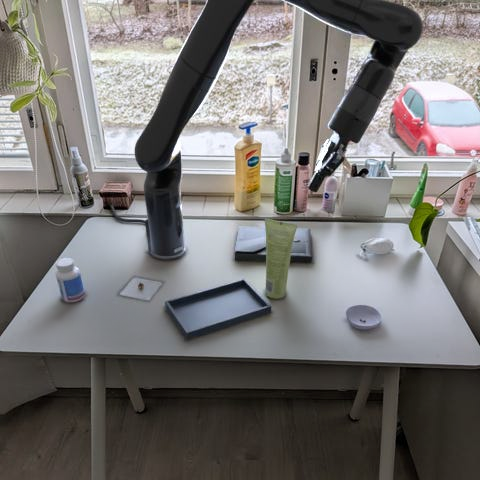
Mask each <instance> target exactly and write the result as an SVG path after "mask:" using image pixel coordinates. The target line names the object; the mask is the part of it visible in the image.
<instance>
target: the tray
mask: <svg viewBox="0 0 480 480" xmlns="http://www.w3.org/2000/svg"><path fill="white" fill-rule="evenodd" d="M164 307H165V309H166V312H167V313H168V314H169V315H170V316H171V318H172V320H173V321H174V322H175V324H176V326H177V327H178V328H179V330H180V331H181V333H182V334H183V336H184V337H185V339H186V340H190V339H194V338H197V337H201V336H204V335H206V334H210V333H213V332H216V331H218V330H221V329H224V328H227V327H231V326H234V325H237V324H240V323H243V322H247V321H249V320H253V319H255V318H258V317H262V316H265V315H267V314H271V313H272V305H271V304H270V303H269V302H268V300H267V299H265V298H264V297H263V296H262V295H261V294H260V292H259V291H257V289H256V288H254V287H253V286H252V284H251V283H250V282H249V281H248V280H247V279H246V278H245V277H244V278H241V279H237V280H233V281H230V282H227V283H223V284H219V285H216V286H212V287H210V288H206V289H203V290H199V291H195V292H192V293H188V294H186V295H182V296H179V297H178V296H177V297H175V298H171V299H168V300H165V301H164Z"/></svg>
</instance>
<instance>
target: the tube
mask: <svg viewBox="0 0 480 480" xmlns="http://www.w3.org/2000/svg"><path fill="white" fill-rule="evenodd" d="M264 227H265V229H266V261H265V264H266V265H265V295H266V296H267V297H268V298H270V299H282V298H283V297H285V295H286V293H287V284H288V277H289V270H290V264H291V262H290V257H291V251H292V246H293V241H294V236H295V232H296V229H297V228H298V224H296V223H291V222H285V221H280V220H275V219H271V218H264Z"/></svg>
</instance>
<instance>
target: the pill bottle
mask: <svg viewBox="0 0 480 480" xmlns="http://www.w3.org/2000/svg"><path fill="white" fill-rule="evenodd" d="M55 266H56V269H57V270H56V271H55V278H56V281H57V285H58V289H59V292H60V296H61V298H62V300H63V301H64V302H66V303H76V302H79V301H81V300H82V299H84V297H85V295H86V294H85V289H84V284H83V279H82V275H81V272H80V268H78V267H77V266H76V264H75V261H74V259H73V258H70V257H63V258H60V259H58V260H56V262H55Z"/></svg>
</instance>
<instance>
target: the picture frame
mask: <svg viewBox="0 0 480 480" xmlns="http://www.w3.org/2000/svg"><path fill="white" fill-rule="evenodd" d="M237 229H238V230H237V235H236V242H235V246H234V261H243V262H244V261H247V262H248V261H249V262H266V229H265V226H252V225H251V226H250V225H249V226H248V225H247V226H245V225H238V228H237ZM311 233H312V232H311V228H306V227H305V228H301V227H297V229H296V232H295V236H294V241H293V246H292V251H291V257H290V263H295V264H296V263H297V264H313V246H312V234H311Z"/></svg>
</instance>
